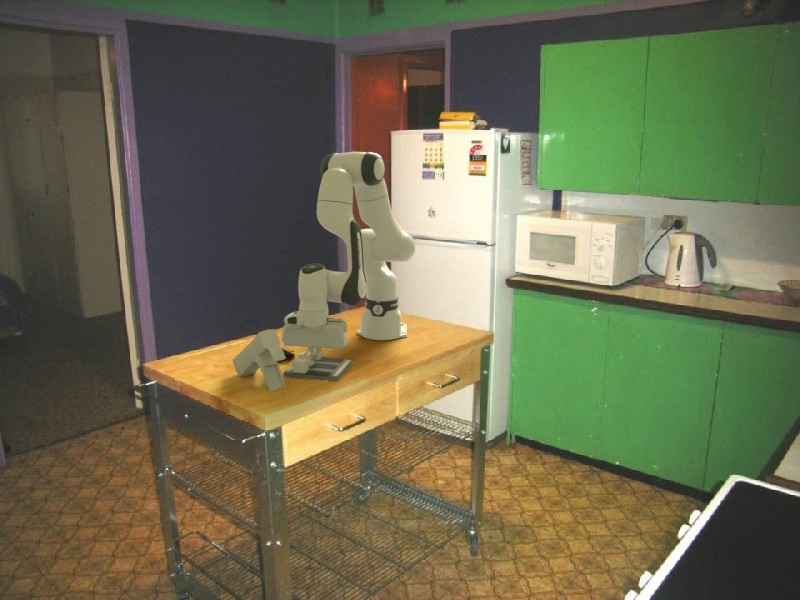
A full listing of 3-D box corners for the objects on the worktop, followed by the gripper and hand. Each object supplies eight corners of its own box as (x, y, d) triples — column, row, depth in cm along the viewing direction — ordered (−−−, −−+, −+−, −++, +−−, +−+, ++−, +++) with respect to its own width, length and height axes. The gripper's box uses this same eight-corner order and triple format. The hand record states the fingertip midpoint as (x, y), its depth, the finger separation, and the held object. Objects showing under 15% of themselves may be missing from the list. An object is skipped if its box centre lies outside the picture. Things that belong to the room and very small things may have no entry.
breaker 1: (302, 362, 210) (301, 350, 209) (314, 363, 209) (313, 351, 208) (298, 365, 207) (298, 353, 206) (311, 366, 207) (310, 354, 206)
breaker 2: (296, 369, 204) (296, 358, 203) (308, 370, 203) (308, 359, 202) (292, 372, 201) (292, 361, 200) (305, 373, 200) (305, 362, 199)
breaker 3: (310, 356, 216) (310, 345, 215) (322, 357, 215) (322, 346, 215) (307, 358, 213) (307, 348, 213) (319, 359, 213) (319, 349, 212)
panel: (302, 360, 218) (302, 355, 217) (352, 364, 214) (352, 359, 214) (283, 377, 202) (283, 372, 201) (337, 381, 198) (336, 376, 198)
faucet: (249, 355, 207) (275, 326, 193) (269, 402, 203) (297, 376, 189) (231, 359, 203) (257, 330, 189) (250, 407, 198) (279, 381, 185)
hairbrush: (276, 334, 238) (298, 350, 216) (277, 343, 239) (299, 360, 217) (253, 337, 234) (273, 353, 212) (254, 347, 235) (274, 364, 213)
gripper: (349, 316, 205) (350, 358, 209) (286, 313, 209) (287, 354, 212) (344, 321, 199) (345, 365, 203) (279, 318, 203) (280, 361, 206)
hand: (315, 360), depth 207 cm, fingers closed
